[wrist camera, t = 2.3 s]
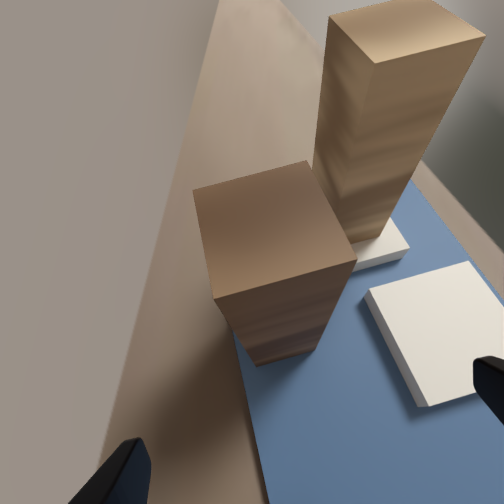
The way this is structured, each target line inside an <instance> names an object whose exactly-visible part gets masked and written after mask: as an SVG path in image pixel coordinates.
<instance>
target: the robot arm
mask: <svg viewBox="0 0 504 504" xmlns="http://www.w3.org/2000/svg"><path fill="white" fill-rule="evenodd" d="M473 386H474V389H475V391H476V392H477V394H478V395H479V396H480V398H481V399H482V400H483V401H484V402H485V404H486V405H487V406H488V407H489V409H490V410H491V411H492V412H493V413H494V415H495V416H496V417H497V418H498V419H499V421H500V422H501V423H502V424H503V426H504V359H501V358H498V357H495V356H484V357H479V358H476V359H474V361H473ZM150 476H151V460H150V457H149V455H148V452H147V450H146V447H145V445H144V442H143V440H142V439H141V438H140V437H137V438H132V439H128V440H125V441H124V442H122V443H121V444H120V446H119V447H118V448H117V449H116V450H115V451H114V452H113V453H112V455H111V456H110V457H109V458H108V459H107V460H106V461H105V462H104V464H103V465H102V466H101V467H100V468H99V469H98V470H97V471H96V473H95V474H94V475H93V476H92V477H91V478H90V479H89V480H88V482H87V483H86V484H85V485H84V486H83V487H82V488H81V489H80V491H79V492H78V493H77V494H76V495H75V496H74V497H73V498H72V500H71V501H70V502H69V503H68V504H147V498H148V491H149V483H150Z"/></svg>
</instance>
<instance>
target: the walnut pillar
mask: <svg viewBox="0 0 504 504" xmlns="http://www.w3.org/2000/svg"><path fill="white" fill-rule="evenodd" d="M193 195H194V201H195V206H196V211H197V216H198V221H199V227H200V232H201V237H202V242H203V247H204V253H205V258H206V263H207V268H208V273H209V279H210V284H211V289H212V294H213V299H214V301H215V302H216V304H217V306H218V307H219V309H220V310H221V312H222V314H223V315H224V317H225V318H226V320H227V322H228V323H229V325H230V326H231V328H232V330H233V331H234V333H235V334H236V336H237V338H238V339H239V341H240V342H241V344H242V346H243V347H244V349H245V350H246V352H247V354H248V355H249V357H250V358H251V360H252V362H253V363H254V365H255V366H256V367H259V366H262V365H266V364H269V363H273V362H276V361H280V360H283V359H287V358H290V357H293V356H297V355H300V354H304V353H307V352H311V351H314V350H316V347H317V345H318V343H319V341H320V339H321V337H322V335H323V332H324V330H325V328H326V326H327V324H328V322H329V320H330V318H331V315H332V313H333V311H334V309H335V307H336V305H337V303H338V301H339V298H340V296H341V294H342V292H343V290H344V288H345V286H346V284H347V281H348V279H349V277H350V275H351V273H352V271H353V269H354V266H355V264H356V262H357V260H358V258H357V256H356V254H355V252H354V250H353V248H352V246H351V244H350V242H349V241H348V239H347V237H346V235H345V233H344V231H343V229H342V227H341V225H340V223H339V221H338V219H337V217H336V216H335V214H334V212H333V210H332V208H331V206H330V204H329V202H328V200H327V198H326V196H325V194H324V193H323V191H322V189H321V187H320V185H319V183H318V181H317V179H316V177H315V175H314V173H313V171H312V170H311V168H310V166H309V164H308V162H307V160H306V161H302V162H298V163H295V164H291V165H287V166H283V167H279V168H276V169H272V170H268V171H264V172H260V173H256V174H253V175H249V176H245V177H241V178H237V179H234V180H230V181H226V182H222V183H218V184H214V185H211V186H207V187H203V188H199V189H195V190H193Z"/></svg>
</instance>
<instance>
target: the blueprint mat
mask: <svg viewBox="0 0 504 504" xmlns="http://www.w3.org/2000/svg"><path fill="white" fill-rule="evenodd" d="M351 246H352V248H353V250H354V252H355V254H356V256H357V258H358V260H357V262H356V264H355V266H354V269H353V271H352V273H351V275H350V277H349V279H348V281H347V284H346V286H345V288H344V290H343V292H342V294H341V296H340V298H339V301H338V303H337V305H336V307H335V309H334V311H333V313H332V315H331V318H330V320H329V322H328V324H327V326H326V328H325V330H324V332H323V335H322V337H321V339H320V341H319V343H318V345H317V347H316V350H314V351H311V352H307V353H304V354H300V355H297V356H293V357H290V358H287V359H283V360H280V361H276V362H273V363H269V364H266V365H262V366H259V367H256V366H255V365H254V363H253V362H252V360H251V358H250V357H249V355H248V354H247V352H246V350H245V349H244V347H243V346H242V344H241V342H240V341H239V339H238V338H237V336H236V334H235V333H234V331H233V330H232V331H233V336H234V341H235V345H236V350H237V355H238V359H239V364H240V368H241V373H242V378H243V382H244V387H245V392H246V396H247V401H248V405H249V410H250V415H251V419H252V424H253V429H254V433H255V438H256V442H257V447H258V452H259V456H260V461H261V466H262V470H263V475H264V479H265V484H266V489H267V493H268V498H269V502H270V504H504V426H503V424H502V423H501V422H500V421H499V419H498V418H497V417H496V416H495V415H494V413H493V412H492V411H491V410H490V409H489V407H488V406H487V405H486V404H485V402H484V401H483V400H482V399H481V398H480V396H479V395H478V394H477V392H476V391H475V389H474V386H473V361H474V359H476V358H479V357H484V356H495V357H498V358H501V359H504V300H503V299H502V298H501V297H500V295H499V294H498V293H497V291H496V290H495V289H494V287H493V286H492V285H491V283H490V282H489V281H488V280H487V278H486V277H485V276H484V274H483V273H482V272H481V270H480V269H479V268H478V267H477V265H476V264H475V263H474V261H473V260H472V259H471V257H470V256H469V255H468V253H467V252H466V251H465V250H464V248H463V247H462V246H461V244H460V243H459V242H458V240H457V239H456V238H455V237H454V235H453V234H452V233H451V231H450V230H449V229H448V227H447V226H446V225H445V223H444V222H443V221H442V220H441V218H440V217H439V216H438V214H437V213H436V212H435V210H434V209H433V208H432V206H431V205H430V204H429V203H428V201H427V200H426V199H425V197H424V196H423V195H422V193H421V192H420V191H419V190H418V188H417V187H416V186H415V184H414V183H413V182H412V180H411V179H410V180H409V182H408V184H407V186H406V188H405V189H404V191H403V193H402V195H401V197H400V199H399V201H398V203H397V205H396V206H395V208H394V210H393V212H392V214H391V216H390V218H389V220H388V221H387V223H386V225H385V227H384V229H383V231H382V233H381V235H380V236H379V237H375V238H372V239H368V240H364V241H361V242H357V243H354V244H351Z"/></svg>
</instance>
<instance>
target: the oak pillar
mask: <svg viewBox="0 0 504 504" xmlns="http://www.w3.org/2000/svg"><path fill="white" fill-rule="evenodd" d="M485 37H486V35H485V34H483V33H482V32H480V31H478V30H477V29H476V28H474V27H473V26H471V25H469V24H468V23H466V22H465V21H463V20H462V19H460V18H459V17H457V16H456V15H454V14H452V13H451V12H449V11H448V10H446V9H445V8H443V7H442V6H440V5H439V4H437V3H436V2H434V1H432V0H392V1H388V2H384V3H380V4H376V5H371V6H367V7H363V8H359V9H355V10H351V11H347V12H342V13H339V14H334V15H330V16H329V20H328V29H327V38H326V47H325V56H324V65H323V74H322V83H321V92H320V102H319V111H318V120H317V129H316V138H315V147H314V156H313V165H312V171H313V173H314V175H315V177H316V179H317V181H318V183H319V185H320V187H321V189H322V191H323V193H324V194H325V196H326V198H327V200H328V202H329V204H330V206H331V208H332V210H333V212H334V214H335V216H336V217H337V219H338V221H339V223H340V225H341V227H342V229H343V231H344V233H345V235H346V237H347V239H348V241H349V242H350V244H354V243H357V242H361V241H364V240H368V239H372V238H375V237H379V236H380V235H381V233H382V231H383V229H384V227H385V225H386V223H387V221H388V220H389V218H390V216H391V214H392V212H393V210H394V208H395V206H396V205H397V203H398V201H399V199H400V197H401V195H402V193H403V191H404V189H405V188H406V186H407V184H408V182H409V180H410V178H411V176H412V174H413V173H414V171H415V169H416V167H417V165H418V163H419V161H420V159H421V157H422V155H423V154H424V152H425V150H426V148H427V146H428V144H429V142H430V140H431V138H432V137H433V135H434V133H435V131H436V129H437V127H438V125H439V124H440V122H441V120H442V118H443V116H444V114H445V112H446V110H447V108H448V106H449V105H450V103H451V101H452V99H453V97H454V95H455V94H456V92H457V90H458V88H459V86H460V84H461V82H462V80H463V78H464V76H465V74H466V73H467V71H468V69H469V67H470V65H471V63H472V62H473V60H474V58H475V56H476V54H477V52H478V50H479V48H480V46H481V45H482V43H483V41H484V39H485Z"/></svg>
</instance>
